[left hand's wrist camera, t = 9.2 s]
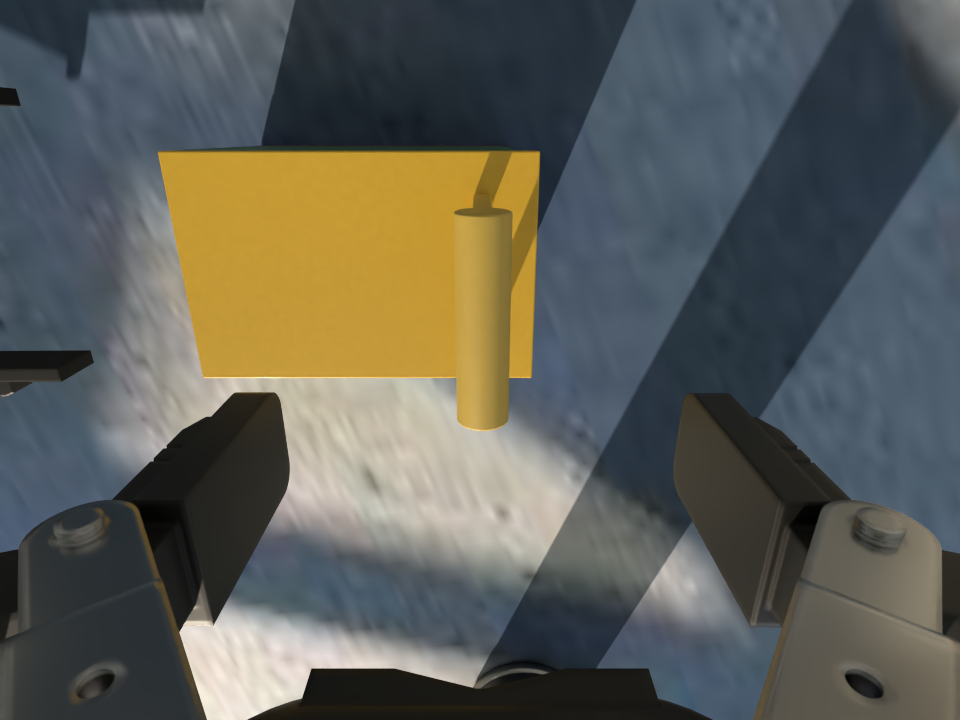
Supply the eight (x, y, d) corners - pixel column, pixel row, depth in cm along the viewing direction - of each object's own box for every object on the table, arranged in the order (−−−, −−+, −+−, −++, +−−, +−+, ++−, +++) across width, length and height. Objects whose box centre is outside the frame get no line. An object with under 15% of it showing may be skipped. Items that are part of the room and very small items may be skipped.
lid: (537, 150, 24) (569, 158, 15) (529, 369, 27) (551, 470, 19) (170, 150, 24) (5, 158, 15) (213, 369, 27) (98, 470, 19)
